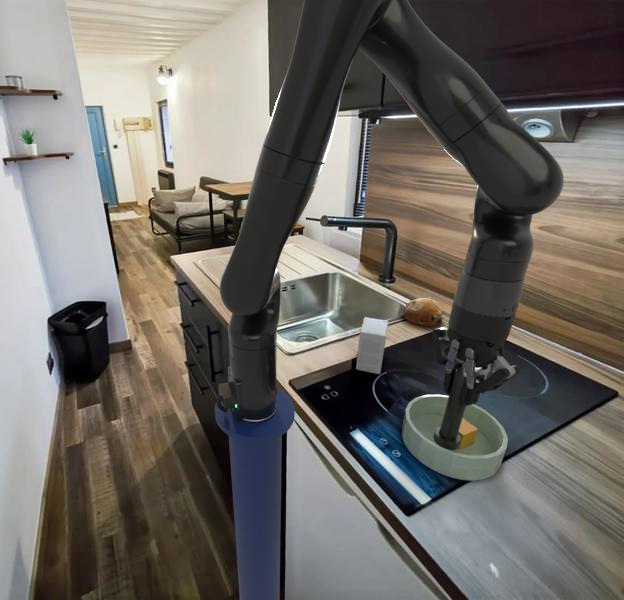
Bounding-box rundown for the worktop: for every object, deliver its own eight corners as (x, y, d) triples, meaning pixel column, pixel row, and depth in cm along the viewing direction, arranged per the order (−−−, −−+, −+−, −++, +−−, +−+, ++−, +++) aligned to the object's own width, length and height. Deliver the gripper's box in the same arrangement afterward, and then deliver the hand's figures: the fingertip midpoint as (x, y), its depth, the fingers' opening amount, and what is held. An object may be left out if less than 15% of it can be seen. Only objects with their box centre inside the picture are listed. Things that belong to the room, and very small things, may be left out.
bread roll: (428, 322, 112) (425, 296, 112) (453, 323, 102) (450, 295, 102) (399, 326, 111) (396, 300, 111) (421, 328, 101) (418, 299, 101)
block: (459, 450, 64) (463, 435, 62) (442, 436, 67) (445, 421, 65) (473, 444, 65) (478, 429, 63) (456, 430, 68) (460, 416, 66)
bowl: (446, 491, 57) (453, 469, 55) (384, 424, 71) (387, 404, 69) (522, 466, 61) (531, 444, 58) (449, 407, 74) (454, 387, 72)
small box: (359, 352, 93) (364, 316, 89) (383, 357, 91) (388, 320, 87) (355, 369, 87) (359, 331, 82) (380, 375, 85) (386, 336, 80)
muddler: (445, 452, 61) (465, 382, 55) (427, 435, 65) (444, 368, 59) (465, 446, 62) (487, 377, 56) (446, 430, 66) (465, 363, 59)
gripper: (425, 288, 57) (408, 377, 65) (510, 329, 45) (477, 434, 52) (464, 281, 59) (443, 369, 66) (556, 319, 47) (518, 422, 54)
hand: (458, 397), depth 59 cm, fingers closed on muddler, 2 cm apart
